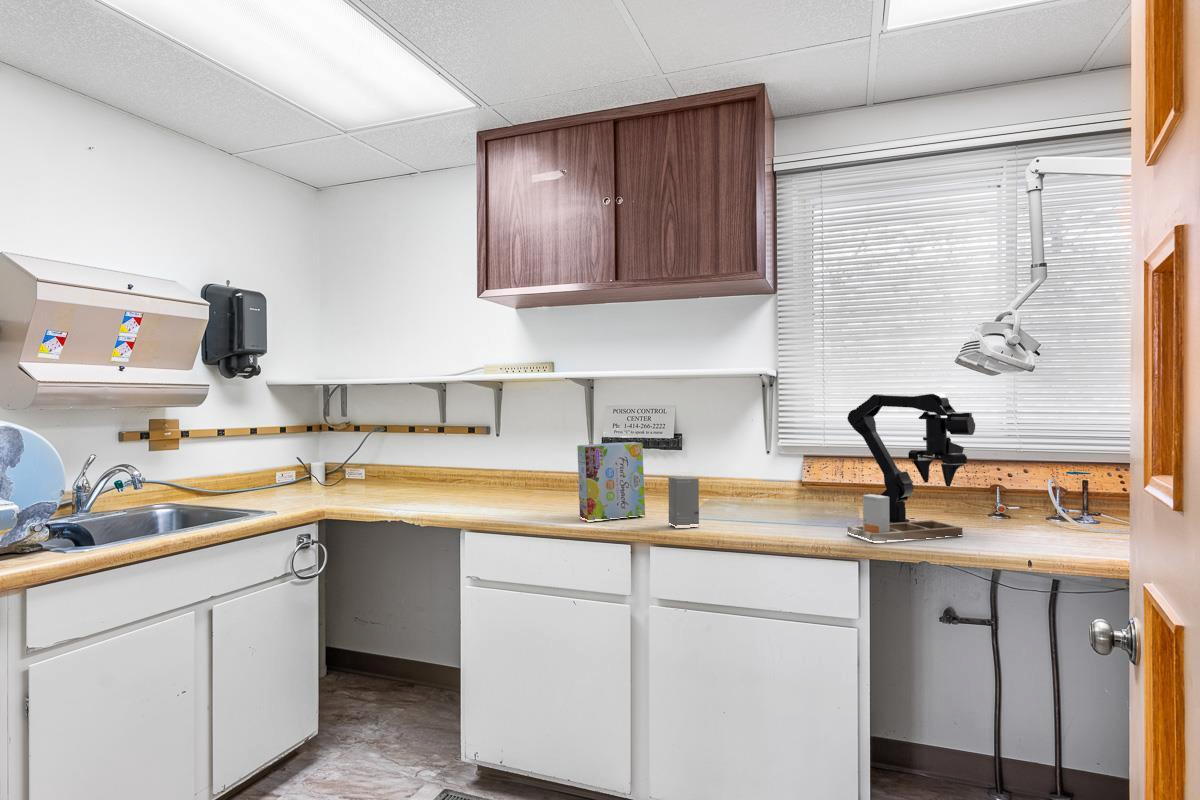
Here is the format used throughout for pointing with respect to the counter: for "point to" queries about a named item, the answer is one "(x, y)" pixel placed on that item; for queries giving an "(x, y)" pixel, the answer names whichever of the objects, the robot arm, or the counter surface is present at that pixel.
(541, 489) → the counter surface
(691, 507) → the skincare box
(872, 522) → the skincare box
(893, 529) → the brown compartment tray
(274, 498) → the counter surface
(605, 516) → the snack box
